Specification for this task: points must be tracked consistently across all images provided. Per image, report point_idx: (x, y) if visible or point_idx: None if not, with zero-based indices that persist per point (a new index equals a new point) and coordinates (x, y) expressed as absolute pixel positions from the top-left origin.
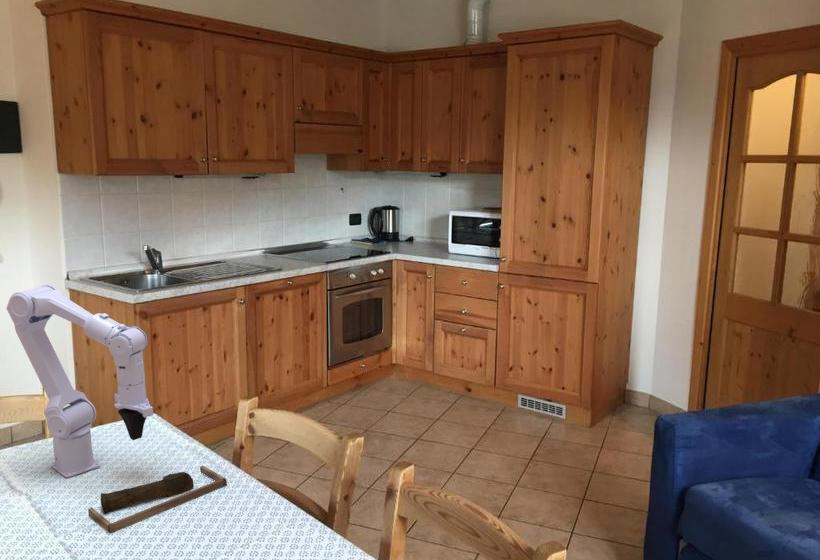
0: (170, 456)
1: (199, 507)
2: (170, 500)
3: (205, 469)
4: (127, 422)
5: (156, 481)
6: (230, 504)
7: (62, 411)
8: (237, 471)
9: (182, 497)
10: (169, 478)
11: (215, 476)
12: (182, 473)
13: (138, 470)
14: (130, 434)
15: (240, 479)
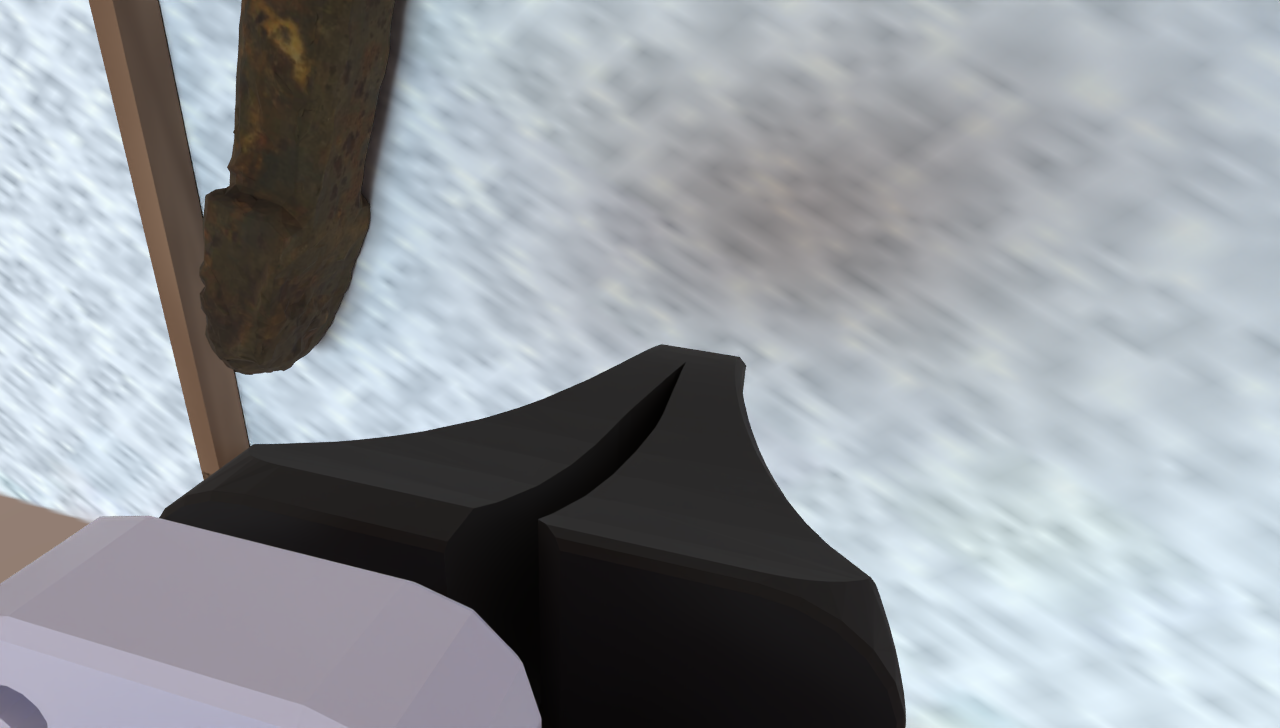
0: (872, 579)
1: (82, 210)
2: (125, 102)
3: None
4: (546, 446)
5: (296, 158)
6: (37, 332)
7: None
8: None
9: (140, 188)
10: (205, 228)
11: None
12: (217, 336)
13: (880, 300)
14: (657, 365)
15: None
